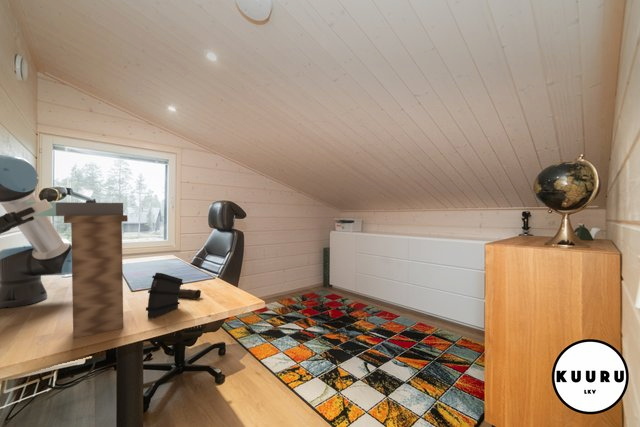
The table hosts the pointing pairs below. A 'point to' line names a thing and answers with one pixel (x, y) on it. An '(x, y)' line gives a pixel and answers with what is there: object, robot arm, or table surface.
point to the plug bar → (81, 209)
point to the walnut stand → (96, 273)
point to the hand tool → (190, 293)
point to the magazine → (163, 295)
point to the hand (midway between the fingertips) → (53, 203)
